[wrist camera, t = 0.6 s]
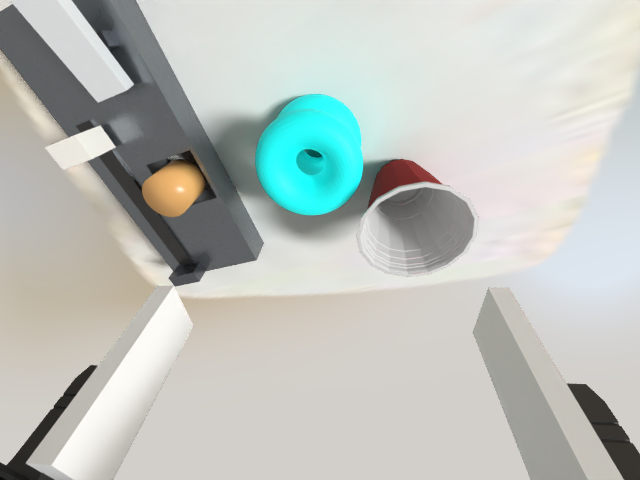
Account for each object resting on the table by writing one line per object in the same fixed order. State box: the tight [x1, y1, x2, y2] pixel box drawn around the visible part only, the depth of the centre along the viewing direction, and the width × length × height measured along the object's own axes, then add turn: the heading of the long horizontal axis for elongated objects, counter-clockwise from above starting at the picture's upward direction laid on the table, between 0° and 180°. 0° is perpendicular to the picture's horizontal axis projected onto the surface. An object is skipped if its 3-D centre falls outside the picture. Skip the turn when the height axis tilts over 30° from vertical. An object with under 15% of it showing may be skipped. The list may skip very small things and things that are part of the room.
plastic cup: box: [356, 159, 479, 277], centre depth 32 cm, size 11×11×12 cm
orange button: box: [142, 159, 206, 217], centre depth 34 cm, size 5×5×5 cm
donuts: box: [255, 94, 363, 215], centre depth 31 cm, size 10×10×10 cm
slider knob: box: [45, 125, 115, 170], centre depth 31 cm, size 2×4×4 cm, turn 109°
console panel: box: [0, 0, 264, 286], centre depth 35 cm, size 32×13×6 cm, turn 19°
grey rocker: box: [11, 0, 134, 103], centre depth 26 cm, size 8×4×2 cm, turn 19°
